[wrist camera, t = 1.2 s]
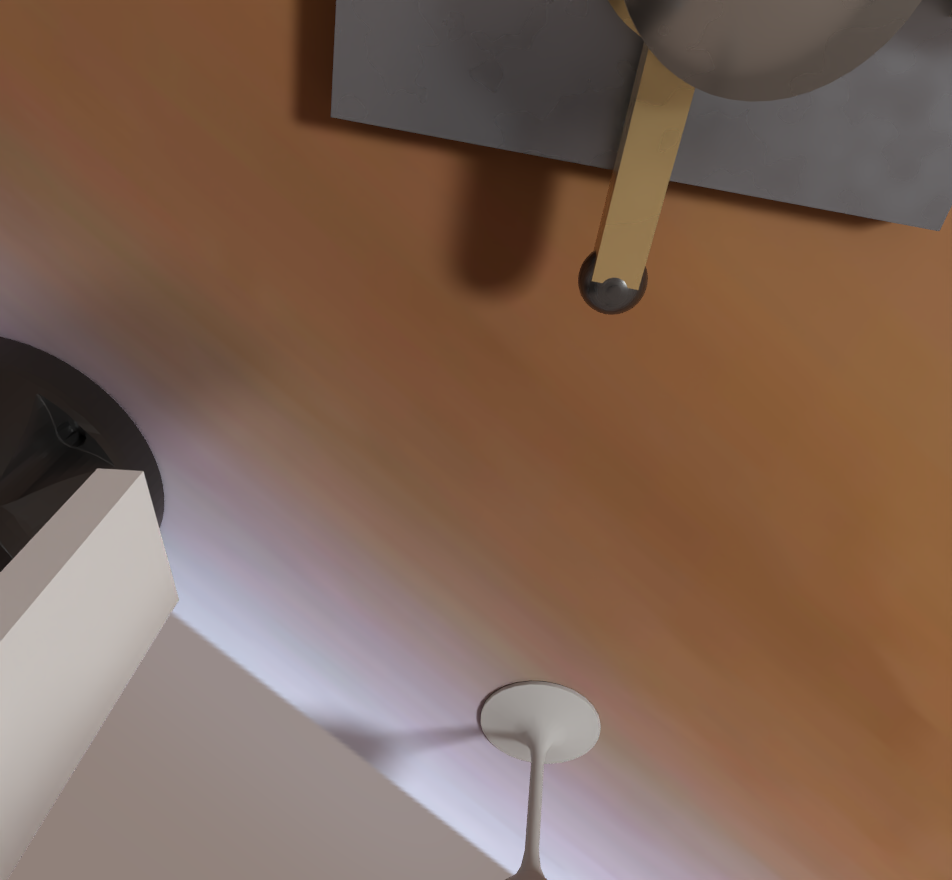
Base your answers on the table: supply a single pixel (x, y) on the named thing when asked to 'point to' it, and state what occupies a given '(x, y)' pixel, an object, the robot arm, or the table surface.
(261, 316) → the table surface
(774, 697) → the table surface
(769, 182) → the stand
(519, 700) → the wineglass
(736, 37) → the capstan
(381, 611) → the table surface
